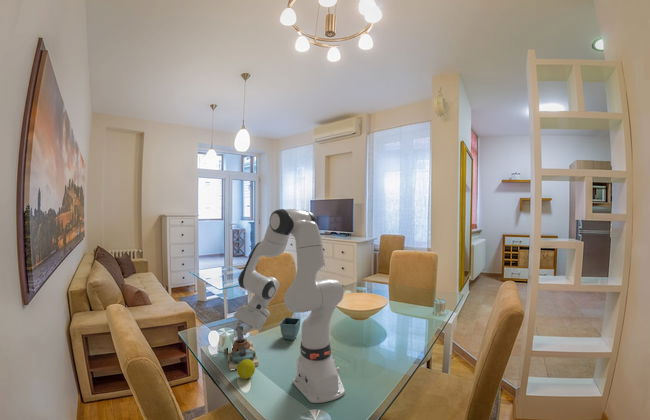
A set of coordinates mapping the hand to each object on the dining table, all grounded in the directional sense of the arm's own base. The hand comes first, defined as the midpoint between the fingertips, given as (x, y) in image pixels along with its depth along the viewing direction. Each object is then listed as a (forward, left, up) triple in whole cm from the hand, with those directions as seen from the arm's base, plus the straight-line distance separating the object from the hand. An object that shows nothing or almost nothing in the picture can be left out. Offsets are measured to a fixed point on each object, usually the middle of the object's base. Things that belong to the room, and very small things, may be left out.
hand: (239, 332), depth 140 cm
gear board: (-5, -1, -9) cm, 11 cm away
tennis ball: (-23, -1, -10) cm, 25 cm away
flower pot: (+5, -27, -10) cm, 29 cm away
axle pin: (0, -1, -8) cm, 8 cm away
